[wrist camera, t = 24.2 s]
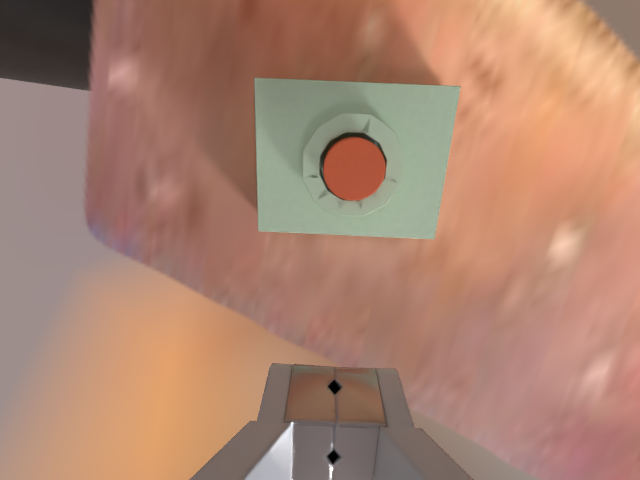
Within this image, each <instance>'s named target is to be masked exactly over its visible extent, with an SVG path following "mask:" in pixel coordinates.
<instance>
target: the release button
mask: <svg viewBox="0 0 640 480" xmlns="http://www.w3.org/2000/svg"><path fill="white" fill-rule="evenodd" d="M323 174H324V179H325V182H326V184H327V186H328V187H329V189H330V190H331V191H332V192H333V193H334V194H335V195H337V196H338V197H340V198H342V199H346V200H352V201H354V200H361V199H364V198H367V197H369V196H370V195H372V194H373V193H374V192H375V191H376V190H377V189H378V188H379V187H380V185H381V184H382V181H383V179H384V176H385V160H384V157H383V155H382V153H381V151H380V150H379V148H378V147H377V146H376V145H375V144H373V143H372V142H370V141H369V140H366V139H364V138H360V137H347V138H343V139H341V140H339V141H338V142H336V143H335V144H334V145H333V146H332V147H331V148H330V149H329V151H328V152H327V154H326V157H325V160H324V166H323Z"/></svg>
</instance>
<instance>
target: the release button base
mask: <svg viewBox="0 0 640 480" xmlns="http://www.w3.org/2000/svg"><path fill="white" fill-rule="evenodd" d="M254 89H255V128H256V167H257V206H258V231H268V232H289V233H311V234H332V235H353V236H375V237H396V238H417V239H434V238H435V233H436V227H437V221H438V215H439V209H440V203H441V197H442V192H443V186H444V180H445V174H446V168H447V162H448V156H449V151H450V145H451V139H452V133H453V127H454V121H455V115H456V110H457V104H458V98H459V92H460V86H445V85H421V84H397V83H373V82H349V81H325V80H301V79H277V78H254ZM347 137H360V138H364V139H366V140H369V141H370V142H372V143H373V144H375V145H376V146H377V147H378V148H379V150H380V151H381V153H382V155H383V157H384V160H385V176H384V179H383V181H382V184H381V185H380V187H379V188H378V189H377V190H376V191H375V192H374V193H373V194H372V195H370V196H369V197H367V198H364V199H361V200H354V201H352V200H346V199H342V198H340V197H338V196H337V195H335V194H334V193H333V192H332V191H331V190H330V189H329V187H328V186H327V184H326V182H325V179H324V174H323V166H324V160H325V157H326V154H327V152H328V151H329V149H330V148H331V147H332V146H333V145H334V144H335V143H336V142H338V141H339V140H341V139H343V138H347Z"/></svg>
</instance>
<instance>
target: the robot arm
mask: <svg viewBox="0 0 640 480" xmlns="http://www.w3.org/2000/svg"><path fill="white" fill-rule="evenodd" d="M190 480H473V478H471V477H470V476H469V475H468V474H467V473H466V472H465V471H464V470H463V469H462V468H461V467H460V466H459V465H458V464H457V463H456V462H455V461H454V460H453V459H452V458H451V457H450V456H449V455H448V454H447V453H446V452H445V451H444V450H443V449H442V448H441V447H440V446H439V445H438V444H437V443H436V442H435V441H434V440H433V439H432V438H431V437H430V436H429V435H428V434H427V433H426V432H425V431H424V430H423V429H420V428H415V427H414V424H413V421H412V417H411V414H410V410H409V407H408V404H407V400H406V397H405V394H404V390H403V387H402V383H401V380H400V377H399V373H398V371H397V370H396V369H395V368H375V369H374V368H353V367H329V366H314V365H298V364H293V365H292V364H278V363H272V364H271V366H270V368H269V373H268V377H267V381H266V385H265V390H264V394H263V398H262V402H261V406H260V411H259V415H258V419H257V421H250V422H249V423H247V425H245V426H244V427H243V428H242V429H241V430H240V431H239V432H238V433H237V434H236V435H235V436H234V437H233V438H232V439H231V440H230V441H229V442H228V443H227V444H226V445H225V446H224V447H223V448H222V449H221V450H220V451H219V452H218V453H217V454H215V456H213V457H212V458H211V459H210V460H209V461H208V462H207V463H206V464H205V465H204V466H203V467H202V468H201V469H200V470H199V471H198V472H197V473H196V474H195V475H194V476H193V477H192V478H191V479H190Z"/></svg>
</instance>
